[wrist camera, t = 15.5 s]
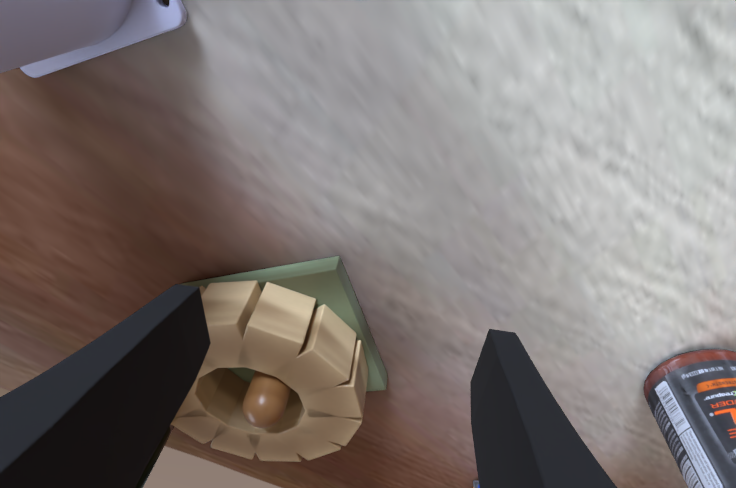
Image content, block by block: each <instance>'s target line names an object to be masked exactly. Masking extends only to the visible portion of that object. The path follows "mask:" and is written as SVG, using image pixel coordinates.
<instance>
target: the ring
mask: <svg viewBox="0 0 736 488" xmlns="http://www.w3.org/2000/svg"><path fill="white" fill-rule="evenodd" d="M199 288H200V293H201V298H202V303H203V308H204V312H205V317H206V322H207V327H208V332H209V337H210V342H211V344H210V346H209V349H208V351H207V354H206V356H205V359H204V361H203V364H202V366H201V369H200V371H199V373H198V375H197V378H196V380H195V382H194V384H193V386H192V387H191V389H190V391H189V393H188V395H187V396H186V398H185V400H184V402H183V403H182V405H181V407H180V409H179V410H178V412H177V414H176V416H175V417H174V419H173V421H172V423H171V425H173V426H174V427H176V428H178V429H179V430H181V431H182V432H184V433H186V434H187V435H189V436H191V437H192V438H194V439H195V440H197V441H199V442H200V443H202V444H204V443H206V442H208V441H211V440H212V443H211V446H210V447H211V448H214V449H217V450H221V451H224V452H228V453H231V454H234V455H238V456H241V457H245V458H248V459H253V457H254V455H255V452H256V454H257V456H258V458H259V459H260V461H293V462H300V461H301V459H302V457H304V458H305V459H306V460H312V459H315V458H317V457H320V456H323V455H326V454H329V453H332V452H335V451H338V450H340V449H341V445H343V446H346V445H347V444H348V442H349V441H350V439H351V438H352V436H353V435H354V434H355V432H356V431H357V429H358V428H359V426H360V425H361V423H362V418H363V411H364V403H365V395H366V387H367V379H368V367H367V362H366V358H365V354H364V350H363V346H362V342H361V340H356V336H357V334H356V332H355V331H354V330H353V329H351V328H350V327H349V326H348V325H347V324H346V323H345V322H344V321H343V320H342V319H341V318H339V317H338V316H337V315H336V314H335V313H334V312H333V311H332V310H331V309H330V308H329V307H327V306H326V305H325V304H323V305H322V306H320V307H318V308H316V309H314V306H315V303H316V299H315V298H312V297H310V296H307V295H304V294H301V293H298V292H295V291H292V290H290V289H287V288H284V287H281V286H278V285H275V284H272V283H269V282H267V283H266V285H265V287H264V289H263V291H261V289H260V286H259V284H258V281H257V280H254V281H237V282H220V283H210V284H209V285H208V287H207V288H205V287H203V286H200V287H199ZM313 309H314V310H313ZM238 367H247V368H250V369H253V370H256V371H259V372H262V373H265V374H268V375H272V376H275V377H277V378H278V379H280V380H281V381H282V382H284V383H285V384H286V385H288V386H289V387H290V388H291V392H290V395H289V398H288V402H287V405H286V409H285V412H284V414H283V416H282V418H281V419H280V420H279V421H278V422H277V423H276V424H275V425H273V426H271V427H268V428H256V427H254V426H252V425H250V424H249V423H248V422H247V420H246V419H245V417H244V414H243V401H244V398H245V396H246V393H247V390H248V388H249V385H250V383H249V382H246V381H244V380H243V379H241V378H240V377H238V376H237V375H236V374H234V373H233V372H232V371H230V370H229V369H228V368H238Z"/></svg>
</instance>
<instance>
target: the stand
mask: <svg viewBox="0 0 736 488" xmlns="http://www.w3.org/2000/svg"><path fill="white" fill-rule="evenodd" d="M254 280H257V281H258V284H259V286H260V289H261V291H263V289H264V287H265V285H266V283H267V282H269V283H272V284H275V285H278V286H281V287H284V288H287V289H290V290H292V291H295V292H298V293H301V294H304V295H307V296H310V297H312V298H315V299H316V303H315V306H314V309H316V308H318V307H320V306H322V305H323V304H325V305H326V306H327V307H329V308H330V309H331V310H332V311H333V312H334V313H335V314H336V315H337V316H338V317H339V318H341V319H342V320H343V321H344V322H345V323H346V324H347V325H348V326H349V327H350V328H351V329H353V330H354V331H355V332H356V334H357V336H356V340H361V342H362V346H363V350H364V354H365V358H366V362H367V367H368V379H367V387H366V392H368V391H379V390H386V386H387V373H386V370H385V368H384V365H383V363H382V360H381V358H380V355H379V353H378V350H377V348H376V345H375V343H374V340H373V338H372V335H371V333H370V330H369V328H368V325H367V323H366V320H365V318H364V315H363V313H362V310H361V308H360V305H359V303H358V301H357V298H356V296H355V293H354V291H353V288H352V286H351V283H350V281H349V278H348V276H347V273H346V271H345V268H344V266H343V263H342V261H341V258H340V256H335V257H329V258H323V259H318V260H312V261H306V262H301V263H295V264H289V265H284V266H278V267H272V268H267V269H261V270H255V271H250V272H244V273H238V274H233V275H227V276H221V277H216V278H210V279H204V280H199V281H193V282H187V283H182V284H180V285H187V286H193V287H200V286H203V287H205V288H207V287H208V285H209V284H210V283H220V282H237V281H254ZM314 309H313V310H314ZM228 369H229V370H230V371H232V372H233V373H234V374H236V375H237V376H238V377H240V378H241V379H243V380H244V381H246V382H249V383H250V385H249V388H248V390H247V393H246V396H245V398H244V401H243V414H244V417H245V419H246V420H247V422H248V423H249V424H250V425H252V426H254V427H256V428H268V427H271V426H273V425H275V424H276V423H277V422H278V421H279V420H280V419H281V418H282V416H283V414H284V412H285V409H286V405H287V402H288V398H289V395H290V392H291V388H290V387H289V386H288V385H286V384H285V383H284V382H282V381H281V380H280V379H278V378H277V377H275V376H272V375H268V374H265V373H262V372H259V371H256V370H253V369H250V368H247V367H238V368H228Z"/></svg>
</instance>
